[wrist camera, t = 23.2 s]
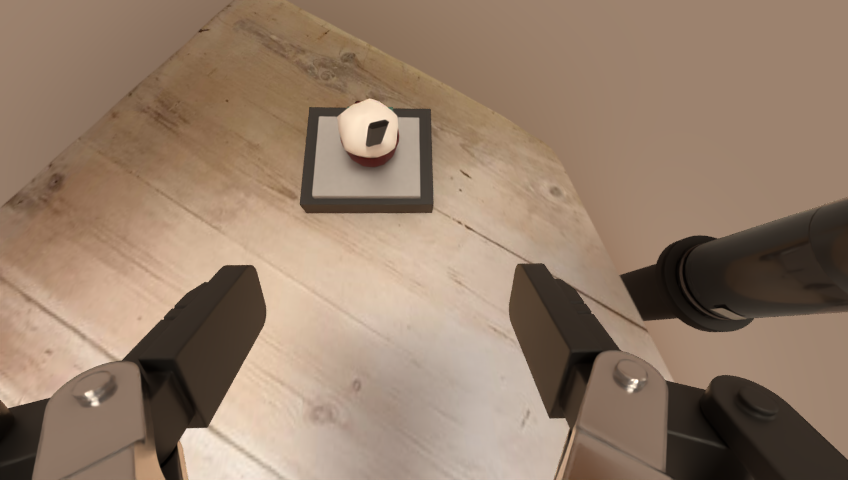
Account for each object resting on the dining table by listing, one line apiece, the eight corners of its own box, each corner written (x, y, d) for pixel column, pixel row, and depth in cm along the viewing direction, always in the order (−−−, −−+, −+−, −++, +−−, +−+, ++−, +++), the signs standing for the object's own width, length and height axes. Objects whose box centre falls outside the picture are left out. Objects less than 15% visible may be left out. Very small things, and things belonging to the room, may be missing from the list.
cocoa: (350, 118, 39) (325, 27, 28) (402, 122, 39) (399, 32, 28) (340, 191, 36) (309, 122, 25) (397, 194, 37) (392, 128, 25)
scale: (429, 121, 44) (431, 104, 40) (432, 212, 40) (433, 201, 37) (314, 120, 43) (307, 102, 40) (306, 212, 39) (297, 201, 36)
